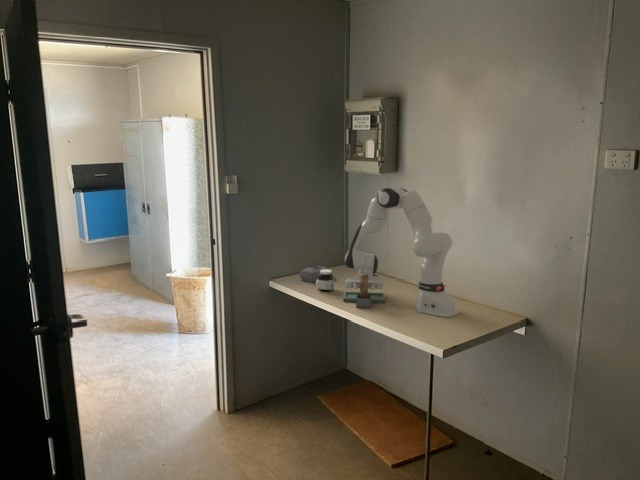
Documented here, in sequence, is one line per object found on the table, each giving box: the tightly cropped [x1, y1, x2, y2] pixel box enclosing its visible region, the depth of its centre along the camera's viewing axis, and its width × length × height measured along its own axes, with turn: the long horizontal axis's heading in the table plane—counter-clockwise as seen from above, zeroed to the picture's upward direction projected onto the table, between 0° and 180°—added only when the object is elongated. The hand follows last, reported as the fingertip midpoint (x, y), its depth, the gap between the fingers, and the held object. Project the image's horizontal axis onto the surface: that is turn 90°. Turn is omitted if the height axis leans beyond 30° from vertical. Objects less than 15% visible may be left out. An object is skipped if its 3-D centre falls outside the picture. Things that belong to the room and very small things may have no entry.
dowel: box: [359, 274, 369, 298], centre depth 265 cm, size 4×4×16 cm
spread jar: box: [315, 268, 335, 293], centre depth 296 cm, size 12×11×12 cm
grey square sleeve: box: [355, 294, 372, 309], centre depth 267 cm, size 8×8×5 cm
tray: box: [342, 291, 386, 304], centre depth 279 cm, size 22×12×2 cm, turn 84°
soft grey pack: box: [299, 265, 331, 283], centre depth 319 cm, size 15×8×20 cm
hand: (363, 287), depth 264 cm, fingers open, 7 cm apart
